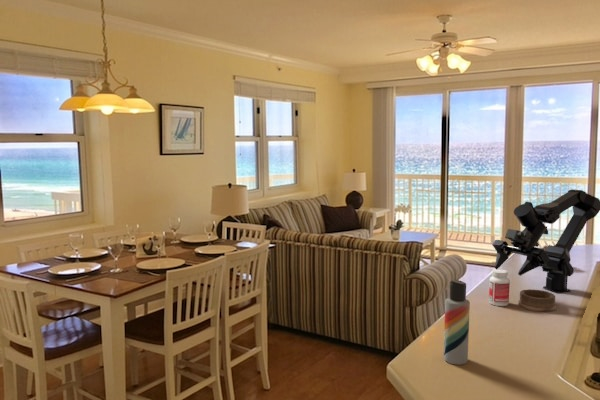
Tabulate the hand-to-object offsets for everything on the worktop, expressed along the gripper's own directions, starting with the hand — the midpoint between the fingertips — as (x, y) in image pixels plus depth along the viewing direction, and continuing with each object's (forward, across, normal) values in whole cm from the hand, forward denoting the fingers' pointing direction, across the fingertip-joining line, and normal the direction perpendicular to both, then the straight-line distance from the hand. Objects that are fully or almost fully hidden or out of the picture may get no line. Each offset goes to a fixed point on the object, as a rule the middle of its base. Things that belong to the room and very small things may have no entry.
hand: (507, 271), depth 165 cm
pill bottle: (+10, 0, +5) cm, 11 cm away
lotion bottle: (+42, +24, -26) cm, 55 cm away
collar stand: (+4, +8, +11) cm, 14 cm away
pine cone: (-33, -24, +48) cm, 63 cm away
